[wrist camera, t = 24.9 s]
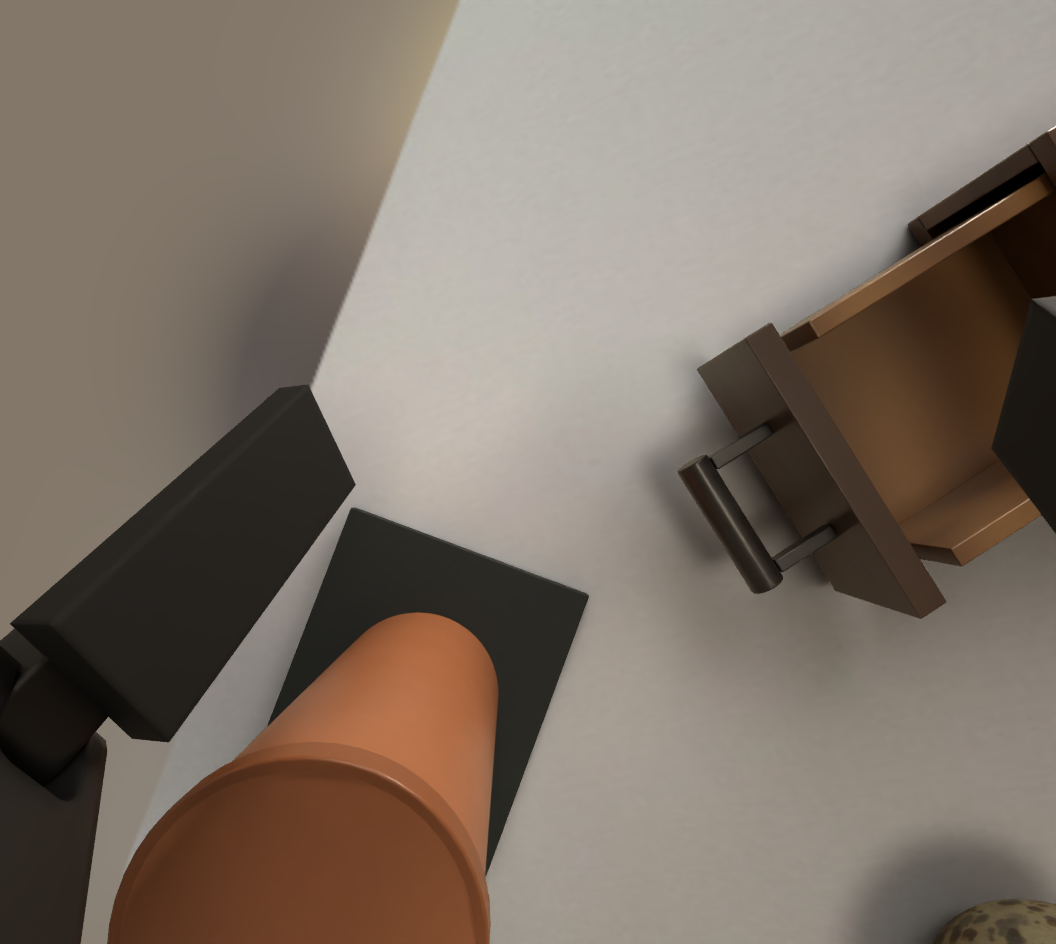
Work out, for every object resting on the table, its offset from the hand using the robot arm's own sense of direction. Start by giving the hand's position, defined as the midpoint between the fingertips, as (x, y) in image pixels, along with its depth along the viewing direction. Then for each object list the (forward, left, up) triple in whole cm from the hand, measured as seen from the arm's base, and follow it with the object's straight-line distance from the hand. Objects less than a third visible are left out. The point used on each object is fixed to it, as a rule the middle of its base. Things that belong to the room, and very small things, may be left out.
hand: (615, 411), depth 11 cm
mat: (+10, -8, -17) cm, 21 cm away
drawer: (0, +15, -16) cm, 22 cm away
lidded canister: (+10, -8, -16) cm, 21 cm away
